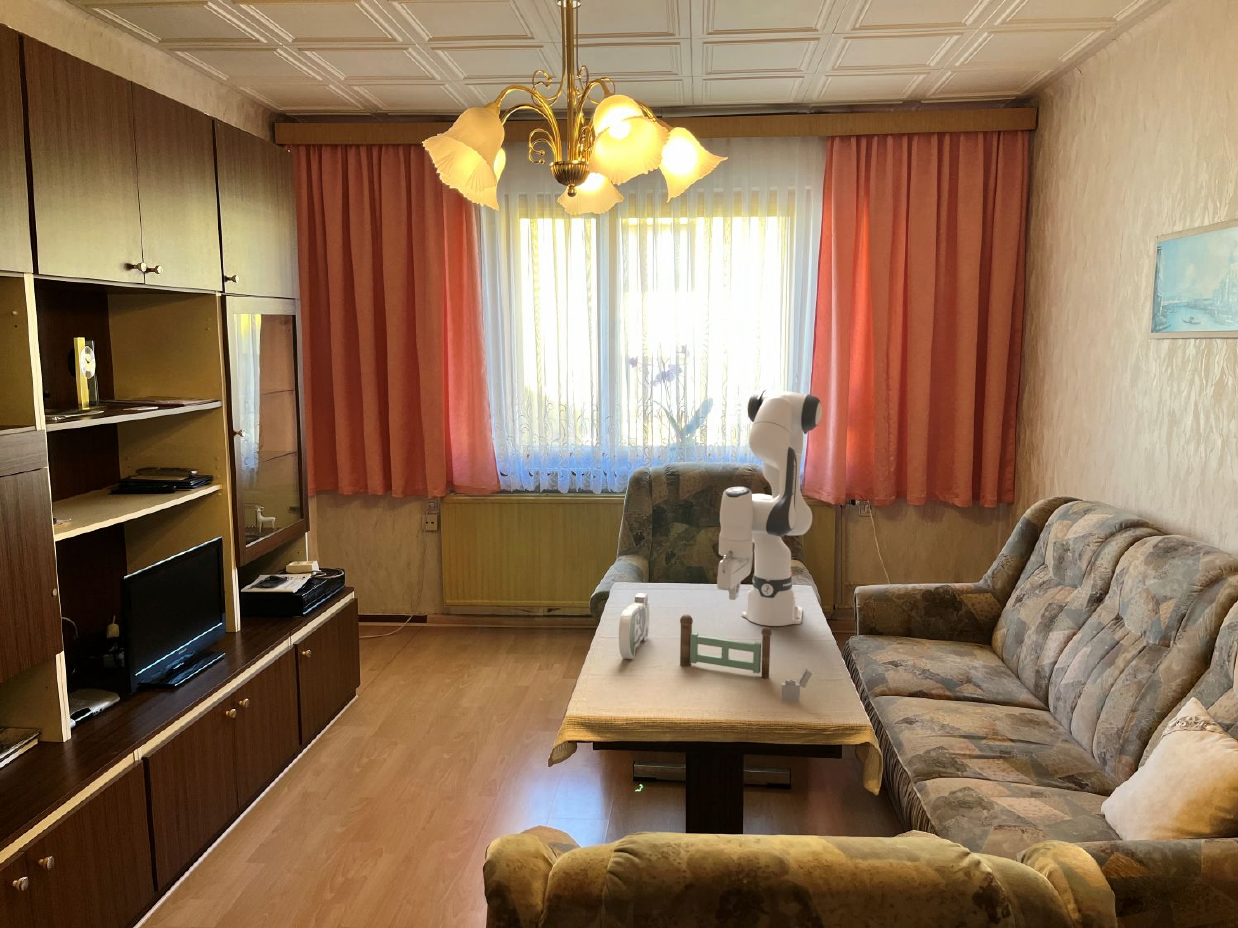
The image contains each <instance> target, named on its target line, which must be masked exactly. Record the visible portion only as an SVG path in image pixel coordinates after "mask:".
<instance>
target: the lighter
mask: <svg viewBox="0 0 1238 928" xmlns="http://www.w3.org/2000/svg"><path fill="white" fill-rule="evenodd" d="M812 676H813V671H812V670H810V669H808V668H806V669H805V671H804V673H803V674H802V677H801V678H800V680H799V681H798V682H796V680H795V679H786V680H785V681H784V682H781V698H780V699H781V702H782V703H800V689H801V688H800V687H802V688H806V686H807V685H808V683H809V680H810V679H811V677H812Z"/></svg>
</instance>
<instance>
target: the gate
mask: <svg viewBox="0 0 1238 928" xmlns="http://www.w3.org/2000/svg"><path fill="white" fill-rule="evenodd" d="M699 645H703V646H709V647H717V648H721V656H718V655H712V654H706V653H700V652H699ZM729 649H730V650H737V651H743V652H749V653H753V654H752V655H753V657H752V661H751V660H745V659H739V658H732V657H729V652H730V651H729ZM690 663H691V664H697V663H702V664H709V665H715V666H719V667H720V666H721V667H728V668H734V669H741V670H748V671H752V673H753V674H758V675H759V674H761V672H762V641H754V642H748V641H747V642H746V641H741V640H735V639H726V638H722V637H721V638H720V637H713V636H705V635H699V632H693V631H692V633H691V634H690Z"/></svg>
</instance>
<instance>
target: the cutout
mask: <svg viewBox="0 0 1238 928" xmlns="http://www.w3.org/2000/svg"><path fill="white" fill-rule="evenodd" d="M649 632H650V603H649V594H648V593H641V592H640V593H639V592H637V593H636V594H635V596H634V602H633V603H630V604H629V605H628V606H627V607H626V608H624V609H623V611H622V612H621V615H620V620H619V625H618V646H619V653H620V656H621V659H626V660H627V659H628V660H634V659H635V655H636V649H637V648H638V647H639V646H640V644H641V642H642V643H643V642H644V643H646V642H647V640H648V639H649ZM647 638H648V639H647ZM633 658H634V659H633Z"/></svg>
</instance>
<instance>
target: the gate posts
mask: <svg viewBox="0 0 1238 928" xmlns="http://www.w3.org/2000/svg"><path fill="white" fill-rule="evenodd" d="M693 622H694V621H693V618H692V616H691V615H689V614H683V615H682V616H681V617H680V619H679V623H680V641H679V642H680V645H679V646H680V647H679V648H680V649H679V651H680V652H679V655H680V656H679V665H680V666H681V667H691V666H692V663H690V634H691V633H692V632H693ZM772 633H773V632H772V630H771V628H770V627H767V626H766V627H764V628H762V629H761V636H762V641H761V672H760V674H761V675H760V676H761V678H762V679H770V661H771V659H770V658H771V636H772Z"/></svg>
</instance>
